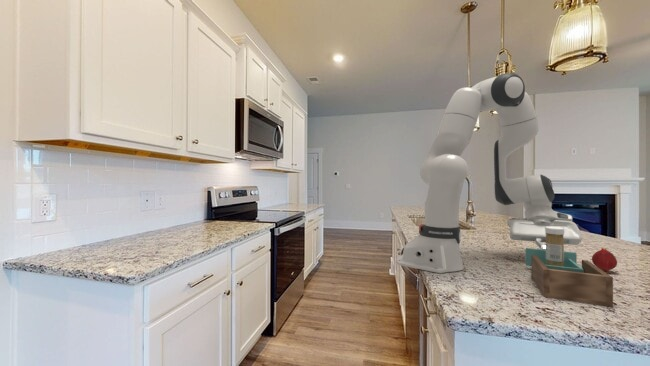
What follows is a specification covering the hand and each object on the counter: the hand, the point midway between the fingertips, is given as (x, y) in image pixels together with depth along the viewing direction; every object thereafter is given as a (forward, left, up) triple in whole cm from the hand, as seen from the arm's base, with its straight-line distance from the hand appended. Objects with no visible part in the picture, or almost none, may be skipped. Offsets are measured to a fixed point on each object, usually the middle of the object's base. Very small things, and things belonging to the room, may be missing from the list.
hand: (546, 251), depth 94 cm
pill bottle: (0, -10, -4) cm, 11 cm away
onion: (+16, +4, -6) cm, 17 cm away
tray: (0, -10, -5) cm, 11 cm away
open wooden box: (0, -22, -6) cm, 23 cm away
